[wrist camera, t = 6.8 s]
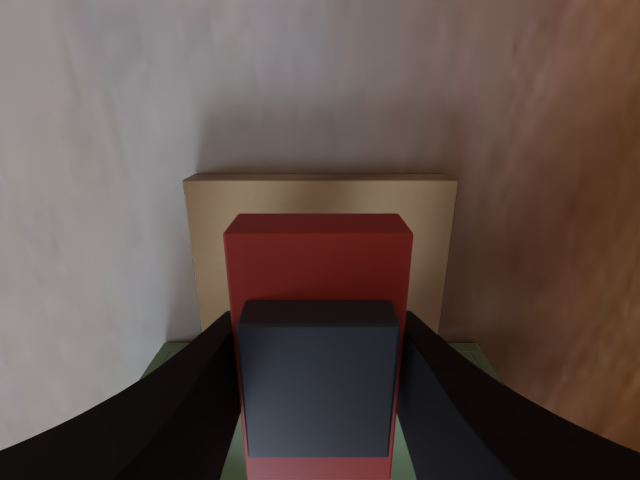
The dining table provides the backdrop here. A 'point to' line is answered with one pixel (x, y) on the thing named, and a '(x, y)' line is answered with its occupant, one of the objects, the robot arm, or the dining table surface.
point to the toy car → (318, 340)
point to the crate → (401, 462)
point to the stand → (322, 197)
